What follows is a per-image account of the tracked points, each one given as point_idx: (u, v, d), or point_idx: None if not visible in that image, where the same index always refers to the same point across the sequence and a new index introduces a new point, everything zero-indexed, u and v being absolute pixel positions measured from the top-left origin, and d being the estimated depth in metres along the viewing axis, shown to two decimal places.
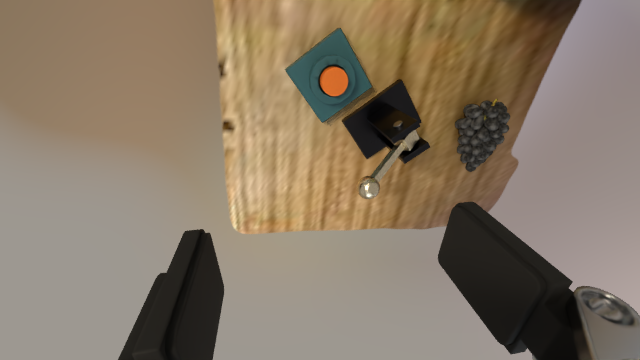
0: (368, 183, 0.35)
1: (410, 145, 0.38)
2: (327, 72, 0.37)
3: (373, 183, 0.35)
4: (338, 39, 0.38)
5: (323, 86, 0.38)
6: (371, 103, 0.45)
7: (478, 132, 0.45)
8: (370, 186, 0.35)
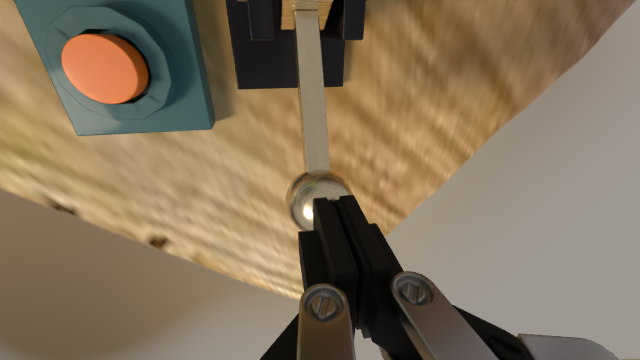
0: (295, 210, 0.11)
1: None
2: (69, 75, 0.16)
3: (305, 199, 0.11)
4: None
5: (102, 100, 0.17)
6: (229, 6, 0.19)
7: None
8: (304, 215, 0.11)
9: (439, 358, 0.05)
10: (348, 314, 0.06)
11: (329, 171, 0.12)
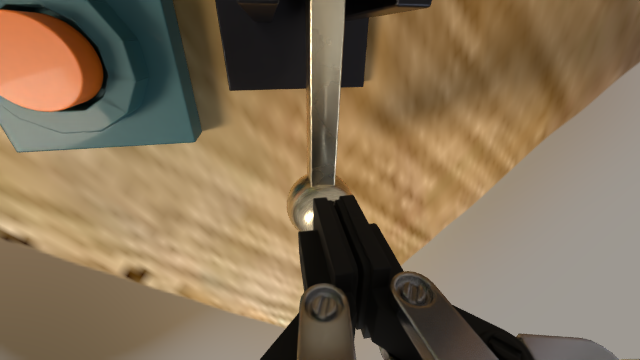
0: (297, 223, 0.12)
1: None
2: None
3: (307, 220, 0.11)
4: None
5: (33, 106, 0.12)
6: None
7: None
8: None
9: (439, 358, 0.05)
10: (348, 314, 0.06)
11: (333, 187, 0.11)
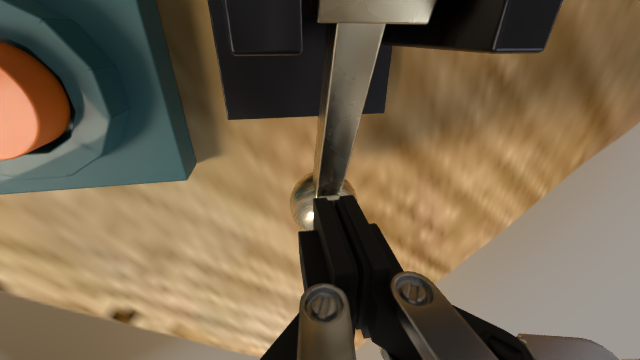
0: (300, 226, 0.12)
1: None
2: None
3: (311, 227, 0.11)
4: None
5: None
6: None
7: None
8: None
9: (439, 358, 0.05)
10: (348, 314, 0.06)
11: None
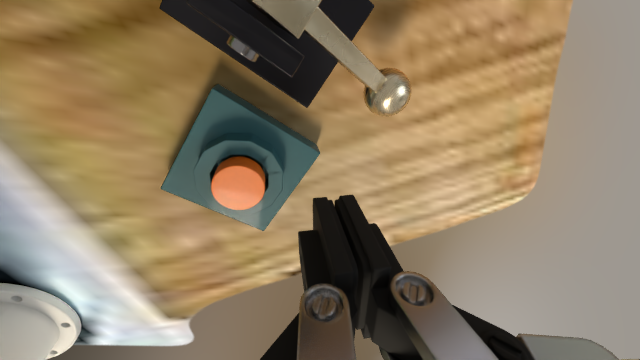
0: (385, 114, 0.18)
1: None
2: (229, 206, 0.21)
3: (389, 109, 0.17)
4: (177, 185, 0.22)
5: (255, 203, 0.21)
6: (246, 63, 0.20)
7: None
8: (393, 114, 0.18)
9: (439, 358, 0.05)
10: (348, 314, 0.06)
11: (387, 80, 0.17)
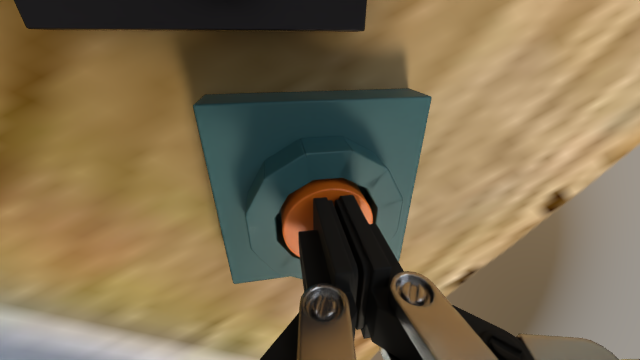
0: None
1: None
2: None
3: None
4: (250, 269, 0.14)
5: None
6: (216, 23, 0.10)
7: None
8: None
9: (439, 358, 0.05)
10: (348, 314, 0.06)
11: None
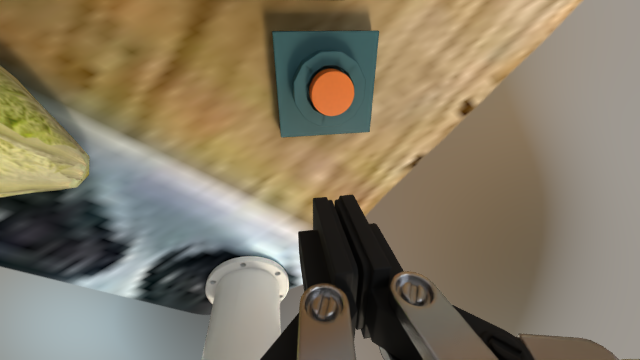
0: None
1: None
2: (334, 113, 0.25)
3: None
4: (290, 127, 0.28)
5: (351, 99, 0.24)
6: None
7: None
8: None
9: (439, 358, 0.05)
10: (348, 314, 0.06)
11: None
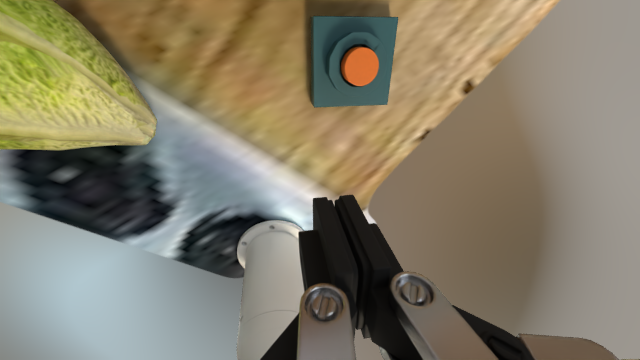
0: None
1: None
2: (362, 84, 0.30)
3: None
4: (322, 99, 0.33)
5: (376, 72, 0.30)
6: None
7: None
8: None
9: (439, 358, 0.05)
10: (348, 314, 0.06)
11: None
